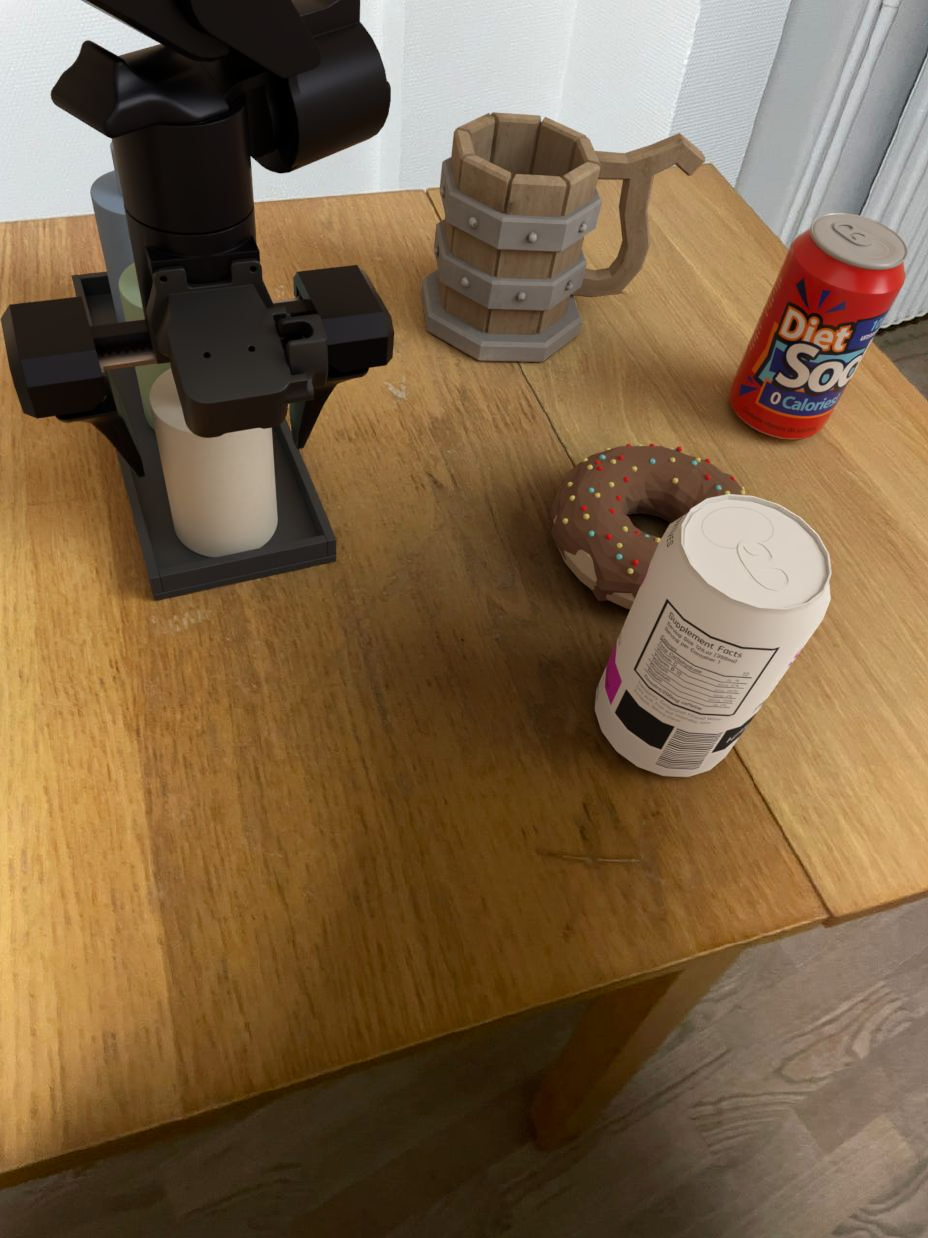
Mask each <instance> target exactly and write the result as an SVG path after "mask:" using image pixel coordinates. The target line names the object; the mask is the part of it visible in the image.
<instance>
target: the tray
mask: <svg viewBox="0 0 928 1238" xmlns="http://www.w3.org/2000/svg"><path fill="white" fill-rule="evenodd" d="M70 277H71V281H72V285H73V289H74V293H75V297H79V296H82V299H83V303H84V307H85V311H86V314H87V318H88V322H89V326H96V325H104V324H112V323H118V321H117V317H116V312H115V307H114V303H113V298H112V293H111V289H110V284H109V279H108V274H107V271H100V272H99V271H97V272H89V273H80V274H72V275H70ZM110 372H111V374H112V377H113V379H114V382H115V385H116V387H117V390H118V392H119V395H120V398H121V400H122V403H123V405H124V408H125V411H126V413H127V416H128V418H129V421H130V424H131V426H132V429H133V432H134V434H135V437H136V440H137V443H138V447H139V450H140V454H141V457H142V461H143V465H144V470H145V475H146V476H145V477H138V476H137V475H136V474H135V472H134V471H133V470H132V469H131V467H130V466H129V465H128V464H127V462H126V461H125V460H124V459H123V457H122V456H121V455H120V454H119V452H118V451H117V450H116V449H115V452H116V457H117V460H118V465H119V469H120V472H121V473H120V474H121V477H122V480H123V485H124V488H125V492H126V496H127V500H128V503H129V507H130V513H131V515H132V520H133V524H134V527H135V531H136V535H137V539H138V543H139V545H140V546H139V547H140V550H141V554H142V558H143V561H144V566H145V569H146V574H147V577H148V582H149V585H150V589H151V593H152V597H153V600H154V601H155V602H157V601H161V600H166V599H171V598H176V597H181V596H184V595H189V594H193V593H198V592H202V591H208V590H212V589H215V588H220V587H225V586H230V585H235V584H239V583H244V582H247V581H252V580H258V579H261V578H267V577H271V576H275V575H280V574H285V573H289V572H293V571H298V570H302V569H307V568H311V567H316V566H321V565H325V564H329V563H335V562H337V537H336V535H335V532H334V530H333V527H332V525H331V523H330V521H329V518H328V515H327V514H326V510H325V508H324V507H323V504H322V501H321V499H320V497H319V494H318V491H317V489H316V487H315V484H314V482H313V479H312V478H311V475H310V473H309V470H308V467H307V466H306V463H305V461H304V459H303V456H302V454H301V451H300V449H297V448H296V446H295V444H294V441H293V438H292V430H291V426H290V424H289V422H288V420H287V417H286V418H285V420H284V421H283V422H282V423H281V424H280V425H278V426H276V427H272V439H273V455H274V470H275V486H276V501H277V517H278V522H277V527H276V530H275V532H274V534H273V536H272V537H271V539H270V540H269V541H268V542H267V543H266V544H265V545H263V546H262V547H261V548H259V549H254V550H249V551H244V552H239V553H235V554H230V555H225V556H220V557H216V558H212V557H207V556H204V555H201V554H198V553H196V552H194V551H192V550H190V549H189V548H187V547H186V546H185V545H184V544H183V543H182V542H181V541H180V540H179V538H178V536H177V535H176V532H175V529H174V524H173V519H172V514H171V509H170V503H169V498H168V493H167V488H166V483H165V478H164V473H163V468H162V463H161V458H160V453H159V447H158V442H157V437H156V432H155V430H154V429H153V428H152V427H151V426H150V425H149V424H148V422H147V420H146V418H145V414H144V409H143V404H142V399H141V394H140V389H139V384H138V379H137V374H136V369H135V367H129V368H121V369H114V370H110Z"/></svg>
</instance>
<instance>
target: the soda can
mask: <svg viewBox="0 0 928 1238" xmlns="http://www.w3.org/2000/svg"><path fill="white" fill-rule="evenodd" d="M908 253H909V252H908V246H907V244H906V243H905V241H904V239H903V238H902V237H901V236H900V235H899V234H897V232H895V231H894V230H893V229H891V228H889V227H888V226H887V225H885V224H883V223H881V222H879V221H877V220H874V219H873V218H872V219H871V218H869V217H866V216H863V215H859V214H855V213H849V212H828V213H824V214H820V215H819V216H817V217H815V219H813V221H812V222H811V224H810V227H809V228H807V230H805V231H803V232H801V233H800V234H799V235H797V236H796V237H795V239H794V240H793V241H792V243H791V245H790V247H789V249H788V251H787V253H786V256H785V259H784V261H783V263H782V265H781V267H780V270H779V272H778V274H777V277H776V279H775V282H774V284H773V286H772V288H771V290H770V293H769V295H768V298H767V300H766V302H765V305H764V307H763V309H762V311H761V314H760V316H759V318H758V320H757V323H756V325H755V327H754V330H753V333H752V334H751V337H750V339H749V342H748V344H747V346H746V349H745V351H744V353H743V355H742V358H741V360H740V362H739V364H738V367H737V370H736V372H735V373H734V377H733V379H732V381H731V384H730V387H729V390H728V400H729V404H730V406H731V408H732V410H733V412H734V413H735V415H736V416H738V418H739V419H740V420H741V421H742V422H743V423H745V424H746V425H747V426H749V427H750V428H752V430H755V431H757V432H759V433H762V434H763V435H766V436H769V437H772V438H776V439H781V440H803V439H807V438H808V439H809V438H810V437H813V436H815V435H817V434H819V432H821V431H822V429H823V428H824V427H825V426H826V424H827V422H828V421H829V419H830V418H831V416H832V414H833V412H834V410H835V408H836V407H837V405H838V403H839V401H840V400H841V398H842V396H843V394H844V392H845V390H846V389H847V387H848V385H849V383H850V381H851V380H852V378H853V376H854V374H855V372H856V370H858V367H859V365H860V363H861V362H862V360H863V358H864V356H865V355H866V353H867V351H868V349H869V347H870V346H871V344H872V342H873V340H874V339H875V337H876V335H877V333H878V332H879V329H880V328H881V326H882V325H883V322H884V320H885V319H886V317H887V315H888V313H889V311H890V309H891V308H892V306H893V305H894V302H895V301H896V299H897V297H898V296H899V293H900V292H901V289H902V287H903V286H904V283H905V281H906V270H905V263H904V262H905V260H906V259H907V257H908Z"/></svg>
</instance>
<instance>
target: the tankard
mask: <svg viewBox="0 0 928 1238" xmlns="http://www.w3.org/2000/svg"><path fill="white" fill-rule="evenodd" d="M705 162H706V157H705V155H704V153H703V151H702V150H700V149H699V148H698V146H696V145H695V144H693V143H692V142H691V141H690V140H689V139H688V138H686V137H685V136H684V135H683V134H682V133H680V132H678V133H676V134H673V135H670V136H669V137H666V138H663V139H661V140H659V141H657V142H654V143H651V144H649V145H646V146H643V147H640V148H636V149H633V150H630V151H627V152H615V151H602V150H595V148H594V146H593V143H592V141H591V139H590V138H589V137H587V135H586V134H584V133H582V132H579V131H577V130H575V129H573V128H571V127H569V126H566V125H565V124H562V123H560V122H558V121H556V120H554V119H551V118H549V117H547V116H544V118H543V119H542V116H541V115H539V114H526V113H525V114H524V113H523V114H522V113H511V112H509V113H508V112H497V111H496V112H492V113H489V112H487V113H485V114H483V115H481V116H479V117H477V118H475V119H473V120H471V121H469V122H466V123H464V124H462V125H460V126H458V127H456V128H455V129H454V131H453V136H452V146H451V156H450V157H448V158H446V159H444V160H443V161H442V162H441V171H440V182H439V195H440V198H441V202H442V208H443V212H444V218H443V220H440V221H439V222H437V223H435V231H434V241H433V242H434V243H433V255H434V257H435V263H436V267H437V269H435V270H434V271H432V272H430V273H428V274H427V275H426V276H424V277H422V278H421V285H420V295H421V302H422V308H423V315H424V320H425V325H426V327H425V328H426V331H427V332H429V333H430V334H432V335H433V336H435V337H437V338H438V339H440V340H442V341H444V342H446V343H447V344H449V345H451V346H453V347H454V348H456V349H458V350H459V351H461V352H463V353H465V354H466V355H468V356H470V357H472V358H474V359H475V360H477V361H479V362H518V363H519V362H521V363H522V362H523V363H543V362H544V361H546V360H547V359H549V358H550V357H551V356H552V355H554V354H555V353H556V352H558V351H559V350H560V349H562V348H563V347H564V346H565V345H567V344H568V343H569V342H571V341H572V340H573V339H574V338H576V337H577V336H578V335H580V332H581V328H582V323H583V319H582V316H581V313H580V310H579V307H578V304H577V301H576V298H575V297H584V298H597V297H604V296H605V297H607V296H612V295H620V294H621V293H622V292H624V290H625V289H626V287H627V286H628V285H629V284H630V283H631V282H632V281H633V280H634V279H635V277H636V276H637V275H638V274H639V273H640V272H641V271H642V269H643V268H644V265H645V261H646V258H647V256H648V253H649V250H650V247H651V233H650V222H649V221H650V219H649V205H650V199H651V195H652V188H653V184H654V177H655V175H657V174H659V173H661V172H664V171H665V170H667V169H669V168H671V167H673V166H676V167H677V168H678V169H679V170H681V171H682V172H683V173H684V174H685V175H686V176H688V177H690V176H692V175H694V174H695V173H696V172H697V170H699V168H701V166H702V165H703V164H705ZM599 180H604V181H605V180H606V181H607V180H608V181H609V180H616V181H618V180H619V181H622V182H621V183H622V184H621V190H620V195H619V201H618V211H619V212H618V214H619V222H620V230H621V240H622V241H621V243H620V247H619V250H618V253H617V257H616V258H615V259H614V260H613V261H612V263H610V265H609V266H608V267H606V268H605V267H604V268H601V269H589V268H587V265H588V262H587V259H586V257H585V254H584V251H583V244H584V240H585V236H587V235H589V234H591V232H593V231H595V230H596V228H597V224H598V220H599V215H600V212H601V208H602V204H603V202H602V199H601V196H600V194H599V192H598V189H597V186H598V182H599Z"/></svg>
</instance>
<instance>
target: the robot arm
mask: <svg viewBox="0 0 928 1238" xmlns="http://www.w3.org/2000/svg"><path fill="white" fill-rule="evenodd" d="M80 1H81V2H83V3H85V4H86V5H89V6H91V7H92V8H94V9H96V10H98V11H99V12H101V13H103V14H105V15H107V16H109V17H110V18H112V19H114V20H116V21H118V22H120V23H122V24H123V25H125V26H127V27H128V28H131V29H132V30H134V31H136V32H138V33H139V34H142V35H144V36H145V37H147V38H149V39H151V40H153V41H154V42H156V43H158V44H155V45H151V46H149V47H144V48H141V49H137V50H134V51H130V52H127V53H123V54H119V55H117V54H115V53H114V52H112V51H110V50H108V49H107V48H105V47H103V46H102V45H100V44H98V43H96V42H94V41H93V40H89V39H87V40H85V41H82V43H81V47H80V50H79V53H78V55H77V57H76V59H75V60H74V62H73V63H72V64H71V65H70V66H69V67H67V69H65V70H64V71H63V72H62V73H61V75H60V76H59V78H58V79H57V81H56V82H55V84H54V86H53V87H52V88H51V90H50V99H51V101H52V103H53V104H54V105H55V106H56V107H57V108H59V109H60V110H63V112H66V113H68V114H69V115H71V116H72V117H73V118H76V119H77V120H79V121H81V122H82V123H83V124H85V125H87V126H88V127H90V128H92V129H94V130H96V132H98V133H100V134H102V136H105V137H106V138H109V139H110V140H111V142H112V144H113V150H114V155H115V160H116V166H117V171H118V177H119V182H120V188H121V193H122V198H123V204H124V209H125V214H126V220H127V225H128V231H129V236H130V242H131V247H132V253H133V258H134V263H135V269H136V274H137V280H138V285H139V291H140V296H141V302H142V307H143V312H144V318H145V319H144V320H136V321H128V322H120V323H112V324H104V325H96V326H89V322H88V318H87V314H86V311H85V307H84V303H83V299H82V296H79V297H76V296H71V297H62V298H54V299H46V300H45V299H44V300H36V301H35V300H34V301H28V302H19V303H10V304H8V306H7V307H6V309H5V310H4V312H3V314H2V315H1V316H0V323H1V329H2V334H3V340H4V344H5V345H4V347H5V351H6V352H5V353H6V357H7V363H8V367H9V368H8V369H9V373H10V375H11V380H12V384H13V387H14V390H15V393H16V396H17V399H18V401H19V405H20V408H21V411H22V413H23V414H24V415H27V416H29V417H31V418H34V419H37V420H38V419H45V418H50V417H55V419H57V420H58V421H59V422H62V423H64V424H72V423H87V424H91V425H92V426H93V427H94V428H95V429H96V430H98V432H100V433H101V435H103V436H104V437H105V439H107V440H108V441H109V442H110V445H112V446H113V447H114V449H115V451H116V450H117V451H118V452H119V454H120V455H121V456H122V457H123V459H124V460H125V461H126V462H127V464H128V465H129V466H130V467H131V469H132V470H133V471H134V472H135V474H136V475H137V476H138V477H145V476H146V475H145V470H144V465H143V461H142V457H141V454H140V450H139V447H138V443H137V440H136V437H135V434H134V432H133V429H132V426H131V424H130V421H129V418H128V416H127V413H126V411H125V408H124V405H123V403H122V400H121V398H120V395H119V392H118V390H117V387H116V385H115V382H114V379H113V377H112V374H111V372H110V370H114V369H121V368H129V367H136V366H143V365H150V364H163V363H170V366H171V371H172V374H173V378H174V382H175V385H176V389H177V392H178V396H179V400H180V403H181V407H182V411H183V416H184V419H185V423H186V425H187V427H188V428H189V430H190V431H191V432H192V433H193V434H195V435H197V436H199V437H203V438H213V437H219V436H222V435H223V434H226V433H231V432H237V431H243V430H249V429H255V428H262V429H267V428H272V427H276V426H278V425H280V424H281V423H282V422H283V421H284V420H285V418H286V419H287V415H288V410H289V422H290V429H291V432H292V438H293V441H294V444H295V446H296V448H297V449H299V450H302V449H304V448H305V447H306V444H307V442H308V440H309V438H310V436H311V434H312V431H313V429H314V427H315V425H316V423H317V421H318V418H319V416H320V415H321V412H322V410H323V408H324V406H325V404H326V402H327V400H328V399H329V397H330V396H331V394H332V393H333V392H334V390H335V388H336V387H337V386H338V385H339V384H341V383H344V382H347V381H350V380H354V379H361V378H363V377H366V375H367V374H368V372H369V370H370V369H372V368H377V367H384V366H387V365H388V364H389V363H390V362H391V361H392V359H393V358H394V344H395V328H394V323H393V317H392V315H391V313H390V312H389V310H388V308H387V306H386V305H385V302H384V301H383V299H382V298H381V296H380V293H379V292H378V290H377V289H376V287H375V285H374V283H373V281H372V280H371V278H370V277H369V274H367V273H366V271H364V270H363V269H362V268H361V266H360V265H358V264H350V265H343V266H342V265H341V266H334V267H325V268H315V269H307V270H306V269H305V270H299V271H296V273H294V275H293V277H292V283H293V297H292V298H284V299H283V298H282V299H276V300H272V297H271V295H270V292H269V290H268V289H267V286H266V284H265V282H264V278H263V277H264V276H263V266H262V264H261V251H260V249H259V246H258V242H257V227H256V214H255V213H256V211H255V201H254V200H255V199H254V185H253V183H254V182H253V171H252V159H253V160H254V161H255V162H256V163H258V164H259V166H261V167H262V168H264V170H267V171H269V172H272V173H275V174H279V175H280V174H287V173H288V174H289V173H292V172H293V171H296V170H299V169H301V168H303V167H305V166H309V165H311V164H313V163H315V162H318V161H320V160H323V159H325V158H328V157H331V156H332V155H336V154H337V153H339V152H342V151H345V150H346V149H350V148H352V147H354V146H356V145H358V144H362V143H363V142H364V143H365V142H366V141H368V140H371V139H372V138H374V137H375V136H377V135H378V134H379V133H380V132H381V130H382V129H383V128H384V127H385V124H386V122H387V120H388V117H389V114H390V108H391V102H392V87H391V84H390V82H389V81H388V79H387V73H386V67H385V65H384V62H383V58H382V56H381V53H380V51H379V49H378V46H377V45H376V42H375V41H374V39H373V37H372V36H371V34H370V32H369V31H368V30H367V28H366V27H365V25H363V23H362V22H361V0H80ZM288 406H289V407H288ZM288 408H289V409H288Z"/></svg>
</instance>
